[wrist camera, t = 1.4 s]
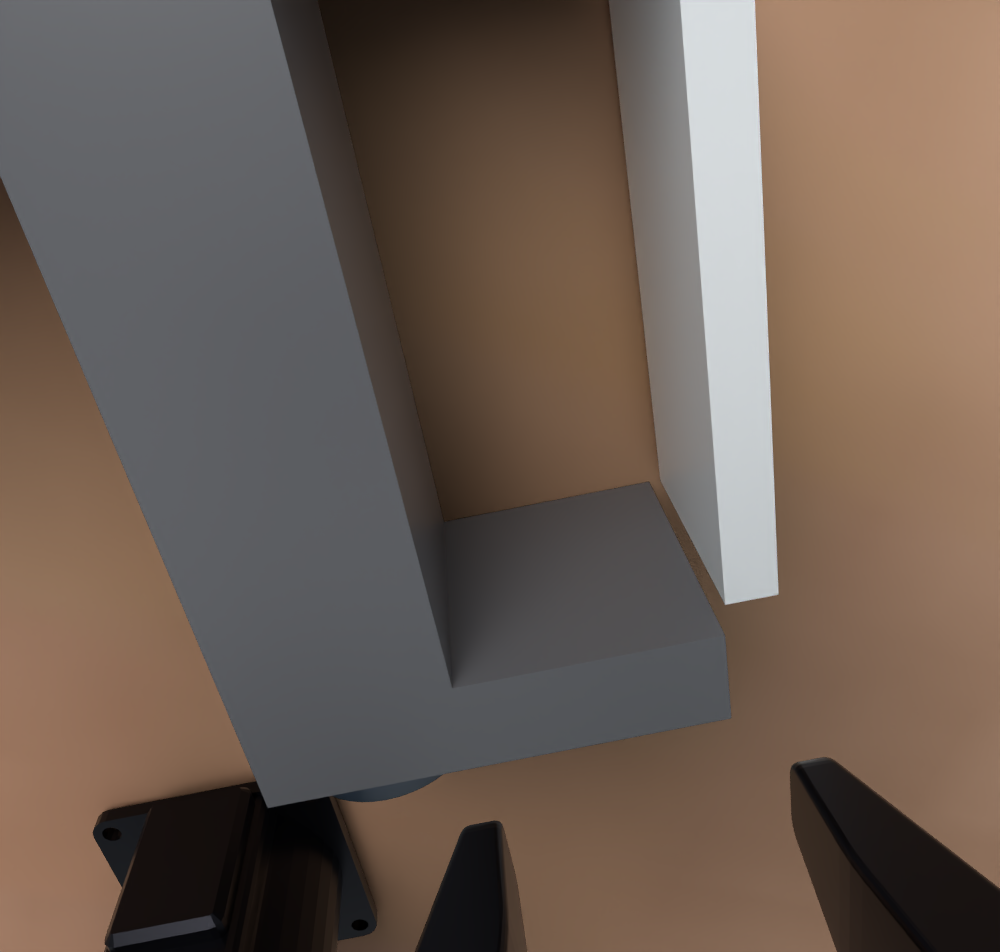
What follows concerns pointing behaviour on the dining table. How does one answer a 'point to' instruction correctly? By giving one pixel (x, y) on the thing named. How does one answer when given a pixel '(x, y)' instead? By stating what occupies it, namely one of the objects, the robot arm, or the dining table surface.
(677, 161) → the side door
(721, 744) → the dining table surface
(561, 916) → the dining table surface
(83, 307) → the grey hollow rectangular block
